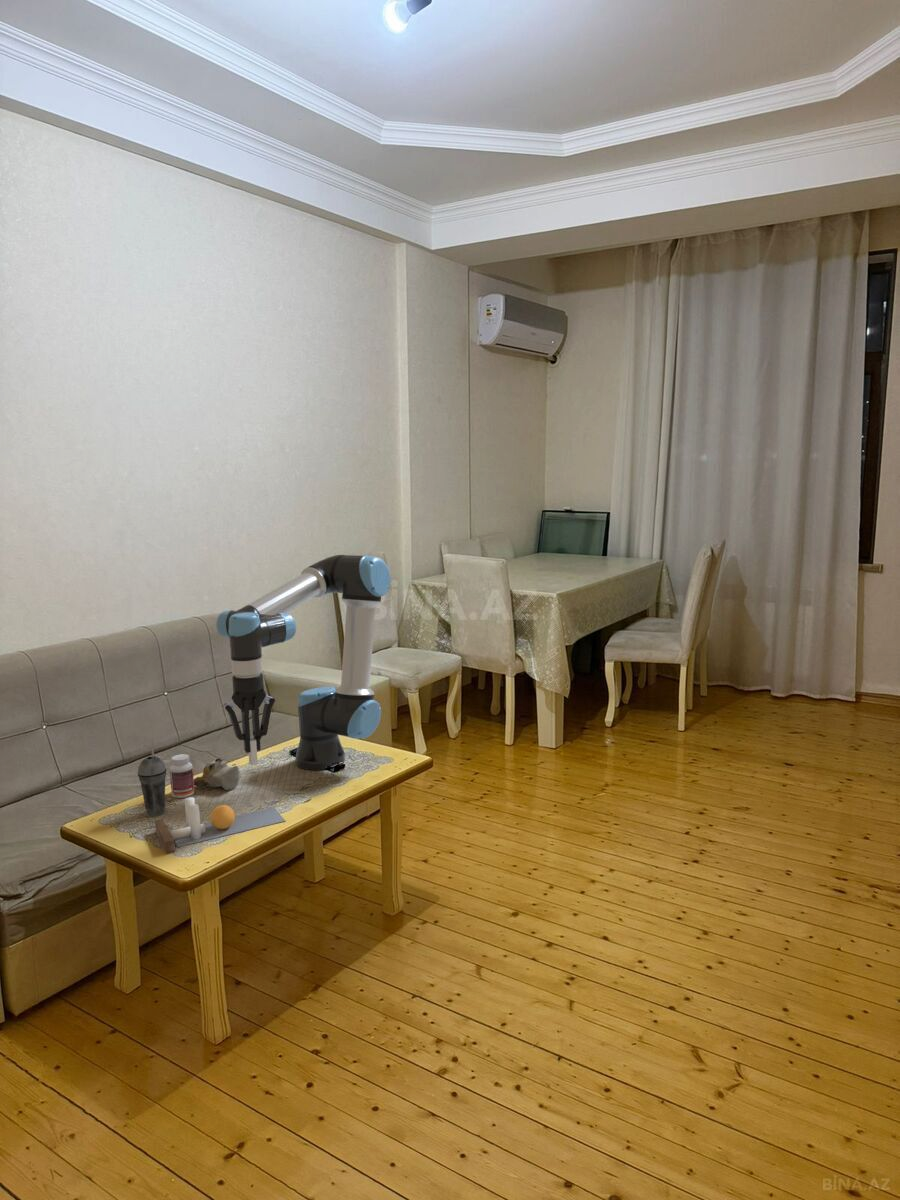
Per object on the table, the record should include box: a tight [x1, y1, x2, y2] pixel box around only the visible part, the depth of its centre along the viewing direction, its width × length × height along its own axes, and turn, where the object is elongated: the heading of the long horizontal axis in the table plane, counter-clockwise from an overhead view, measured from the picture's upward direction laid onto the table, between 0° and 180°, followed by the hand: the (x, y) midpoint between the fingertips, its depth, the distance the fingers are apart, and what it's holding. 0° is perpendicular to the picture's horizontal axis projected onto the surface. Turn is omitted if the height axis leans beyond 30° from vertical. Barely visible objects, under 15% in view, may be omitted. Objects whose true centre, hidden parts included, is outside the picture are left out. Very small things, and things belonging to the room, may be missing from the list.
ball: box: [209, 804, 236, 830], centre depth 203 cm, size 6×6×6 cm
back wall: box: [154, 818, 176, 855], centre depth 196 cm, size 2×14×3 cm, turn 30°
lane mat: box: [174, 806, 286, 848], centre depth 204 cm, size 27×10×1 cm, turn 120°
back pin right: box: [184, 796, 196, 827], centre depth 201 cm, size 2×2×8 cm
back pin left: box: [189, 803, 201, 840], centre depth 197 cm, size 2×2×8 cm
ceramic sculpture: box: [194, 758, 241, 791], centre depth 230 cm, size 11×9×15 cm
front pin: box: [169, 822, 206, 840], centre depth 199 cm, size 2×2×8 cm
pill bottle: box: [169, 753, 195, 799], centre depth 225 cm, size 6×6×11 cm
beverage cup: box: [137, 739, 167, 817], centre depth 212 cm, size 7×7×20 cm
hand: (253, 763), depth 205 cm, fingers closed
